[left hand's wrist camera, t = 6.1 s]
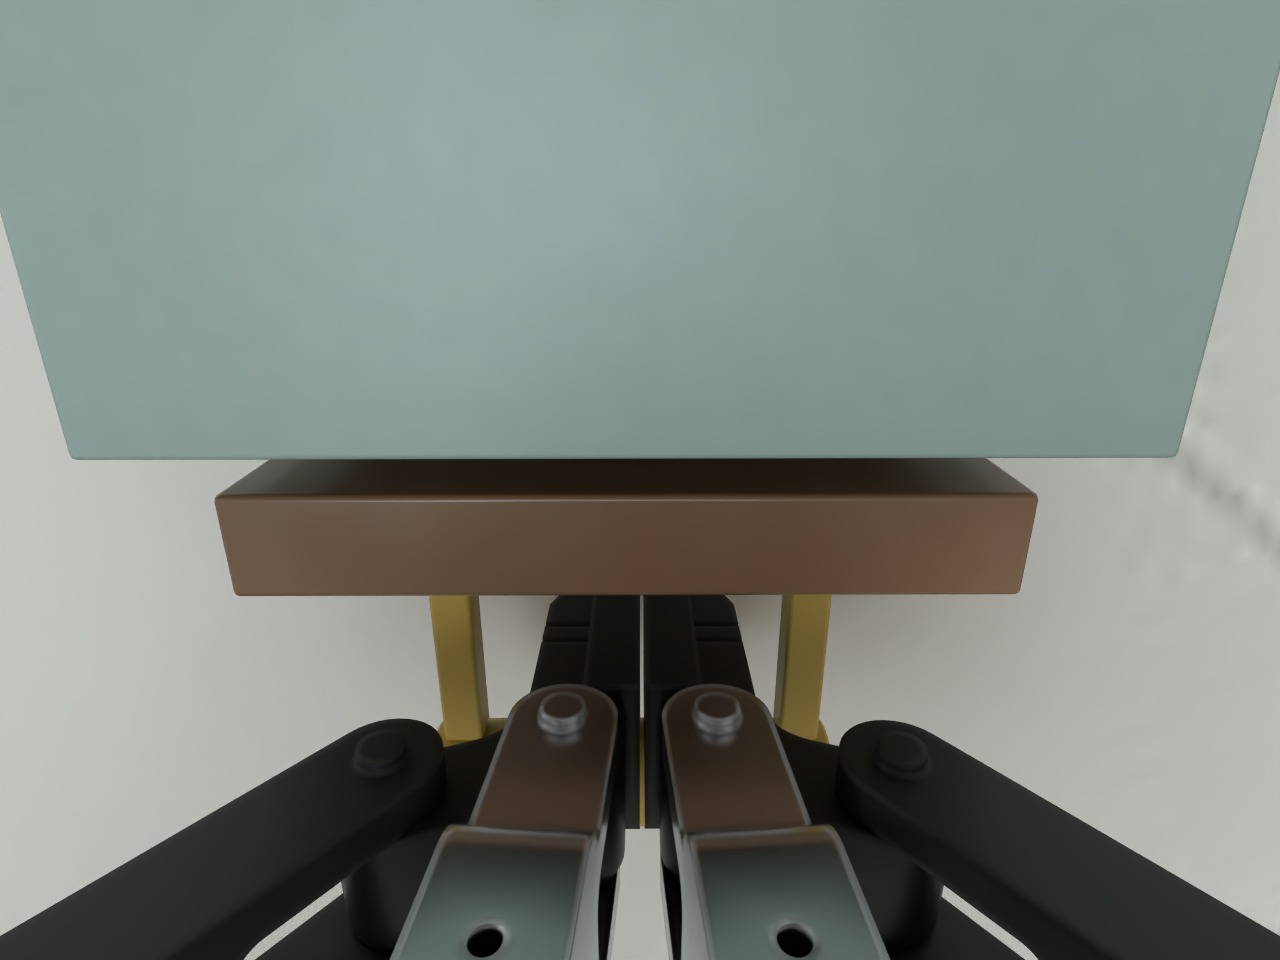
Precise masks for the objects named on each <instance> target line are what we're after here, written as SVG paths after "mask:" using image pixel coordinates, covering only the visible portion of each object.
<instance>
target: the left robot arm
mask: <svg viewBox="0 0 1280 960" xmlns="http://www.w3.org/2000/svg"><path fill="white" fill-rule="evenodd" d="M644 794H645V828H660V886H661V895H662V904H663V912H664V921H665V929H666V938H667V946H668V955H669V960H1025V959H1023V958H1022V957H1021V956H1019V955H1018V954H1017V953H1015V952H1014V951H1013V950H1011V949H1010V948H1009V947H1007V946H1006V945H1005V944H1003V943H1002V942H1001V941H1000V940H998V939H997V938H996V937H994V936H993V935H992V934H990V933H989V932H988V931H986V930H985V929H984V928H982V927H981V926H980V925H978V924H977V923H976V922H974V921H973V920H972V919H970V918H969V917H968V916H966V915H965V914H964V913H962V912H961V911H960V910H958V909H957V908H956V907H954V906H953V905H952V904H950V903H949V902H948V901H947V900H945V899H944V898H943V897H942V891H943V886H944V885H945V886H946V887H947V888H949V889H950V890H951V891H953V892H954V893H955V894H957V895H958V896H960V897H961V898H962V899H964V900H965V901H966V902H968V903H969V904H970V905H972V906H973V907H974V908H976V909H977V910H978V911H980V912H981V913H982V914H984V915H985V916H987V917H988V918H989V919H991V920H992V921H993V922H995V923H996V924H997V925H999V926H1000V927H1001V928H1003V929H1004V930H1005V931H1007V932H1008V933H1010V934H1011V935H1012V936H1014V937H1015V938H1016V939H1018V940H1019V941H1020V942H1021V943H1023V944H1024V945H1025V946H1026V947H1027V948H1028V949H1029V950H1030V951H1031V952H1032V953H1033V954H1034V955H1035V956H1036V957H1037V958H1038V960H1280V936H1279V935H1277V934H1275V933H1274V932H1272V931H1270V930H1268V929H1267V928H1265V927H1263V926H1262V925H1260V924H1258V923H1256V922H1255V921H1253V920H1251V919H1250V918H1248V917H1246V916H1244V915H1243V914H1241V913H1239V912H1238V911H1236V910H1234V909H1232V908H1231V907H1229V906H1227V905H1225V904H1224V903H1222V902H1220V901H1219V900H1217V899H1215V898H1213V897H1212V896H1210V895H1208V894H1207V893H1205V892H1203V891H1201V890H1200V889H1198V888H1196V887H1195V886H1193V885H1191V884H1189V883H1188V882H1186V881H1184V880H1183V879H1181V878H1179V877H1177V876H1176V875H1174V874H1172V873H1171V872H1169V871H1167V870H1165V869H1164V868H1162V867H1160V866H1158V865H1157V864H1155V863H1153V862H1152V861H1150V860H1148V859H1146V858H1145V857H1143V856H1141V855H1140V854H1138V853H1136V852H1134V851H1133V850H1131V849H1129V848H1128V847H1126V846H1124V845H1122V844H1121V843H1119V842H1117V841H1116V840H1114V839H1112V838H1110V837H1109V836H1107V835H1105V834H1104V833H1102V832H1100V831H1098V830H1097V829H1095V828H1093V827H1091V826H1090V825H1088V824H1086V823H1085V822H1083V821H1081V820H1079V819H1078V818H1076V817H1074V816H1073V815H1071V814H1069V813H1067V812H1066V811H1064V810H1062V809H1061V808H1059V807H1057V806H1055V805H1054V804H1052V803H1050V802H1049V801H1047V800H1045V799H1043V798H1042V797H1040V796H1038V795H1037V794H1035V793H1033V792H1031V791H1030V790H1028V789H1026V788H1024V787H1023V786H1021V785H1019V784H1018V783H1016V782H1014V781H1012V780H1011V779H1009V778H1007V777H1006V776H1004V775H1002V774H1000V773H999V772H997V771H995V770H994V769H992V768H990V767H988V766H987V765H985V764H983V763H982V762H980V761H978V760H976V759H975V758H973V757H971V756H970V755H968V754H966V753H964V752H963V751H961V750H959V749H957V748H956V747H954V746H952V745H951V744H949V743H947V742H945V741H944V740H942V739H940V738H939V737H937V736H935V735H933V734H932V733H930V732H928V731H926V730H924V729H921V728H919V727H916V726H913V725H910V724H906V723H902V722H897V721H888V720H875V721H868V722H864V723H861V724H858V725H856V726H854V727H852V728H850V729H849V730H848V731H847V732H846V733H845V734H844V735H843V737H842V739H841V741H840V745H839V746H835V745H831V744H827V743H822V742H818V741H814V740H810V739H806V738H802V737H799V736H797V735H794V734H792V733H790V732H788V731H786V730H784V729H782V728H780V727H779V726H777V725H776V724H774V721H773V719H772V716H771V714H770V712H769V710H768V708H767V707H766V706H765V704H764V703H763V702H762V701H761V700H760V699H758V698H757V697H756V696H755V693H754V689H753V684H752V680H751V676H750V672H749V667H748V663H747V659H746V655H745V650H744V646H743V642H742V640H741V633H740V629H739V626H738V621H737V616H736V612H735V608H734V604H733V603H732V602H731V601H730V600H729V599H728V598H727V597H726V596H725V595H644ZM625 829H640V595H559V596H558V597H557V598H556V599H555V600H554V601H553V602H552V603H551V604H550V608H549V612H548V616H547V621H546V626H545V630H544V634H543V642H542V643H541V647H540V652H539V656H538V661H537V665H536V670H535V674H534V678H533V683H532V687H531V692H530V693H529V694H527V695H526V696H524V697H523V698H522V699H520V700H519V701H518V702H517V703H516V704H515V706H514V707H513V708H512V710H511V712H510V714H509V716H508V719H507V721H506V724H505V727H504V729H502V730H500V731H498V732H496V733H494V734H491V735H489V736H486V737H484V738H480V739H477V740H473V741H468V742H464V743H460V744H455V745H451V746H447V747H444V746H443V741H442V738H441V736H440V734H439V733H438V732H437V730H435V729H434V728H433V727H432V726H430V725H428V724H426V723H424V722H421V721H417V720H412V719H388V720H383V721H378V722H374V723H371V724H368V725H365V726H363V727H360V728H358V729H356V730H354V731H352V732H350V733H348V734H347V735H345V736H343V737H341V738H340V739H338V740H336V741H335V742H333V743H331V744H329V745H328V746H326V747H324V748H323V749H321V750H319V751H317V752H316V753H314V754H312V755H311V756H309V757H307V758H305V759H304V760H302V761H300V762H298V763H297V764H295V765H293V766H292V767H290V768H288V769H286V770H285V771H283V772H281V773H280V774H278V775H276V776H274V777H273V778H271V779H269V780H268V781H266V782H264V783H262V784H261V785H259V786H257V787H256V788H254V789H252V790H250V791H249V792H247V793H245V794H244V795H242V796H240V797H238V798H237V799H235V800H233V801H231V802H230V803H228V804H226V805H225V806H223V807H221V808H219V809H218V810H216V811H214V812H213V813H211V814H209V815H207V816H206V817H204V818H202V819H201V820H199V821H197V822H195V823H194V824H192V825H190V826H189V827H187V828H185V829H183V830H182V831H180V832H178V833H177V834H175V835H173V836H171V837H170V838H168V839H166V840H164V841H163V842H161V843H159V844H158V845H156V846H154V847H152V848H151V849H149V850H147V851H146V852H144V853H142V854H140V855H139V856H137V857H135V858H134V859H132V860H130V861H128V862H127V863H125V864H123V865H122V866H120V867H118V868H116V869H115V870H113V871H111V872H110V873H108V874H106V875H104V876H103V877H101V878H99V879H97V880H96V881H94V882H92V883H91V884H89V885H87V886H85V887H84V888H82V889H80V890H79V891H77V892H75V893H73V894H72V895H70V896H68V897H67V898H65V899H63V900H61V901H60V902H58V903H56V904H55V905H53V906H51V907H49V908H48V909H46V910H44V911H43V912H41V913H39V914H37V915H36V916H34V917H32V918H30V919H29V920H27V921H25V922H24V923H22V924H20V925H18V926H17V927H15V928H13V929H12V930H10V931H8V932H6V933H5V934H3V935H1V936H0V960H244V958H245V957H246V956H247V954H248V953H249V952H250V951H251V950H252V949H253V948H254V947H255V946H256V945H257V944H258V943H259V942H260V941H261V940H263V939H264V938H265V937H266V936H268V935H269V934H270V933H272V932H273V931H275V930H276V929H277V928H279V927H280V926H281V925H283V924H284V923H285V922H287V921H288V920H289V919H291V918H292V917H293V916H295V915H296V914H298V913H299V912H300V911H302V910H303V909H304V908H306V907H307V906H308V905H310V904H311V903H312V902H314V901H315V900H316V899H318V898H319V897H321V896H322V895H323V894H325V893H326V892H327V891H329V890H330V889H331V888H333V887H334V886H335V885H337V884H338V883H339V882H341V884H342V889H343V894H341V895H340V896H339V897H337V898H336V899H335V900H334V901H332V902H331V903H330V904H328V905H327V906H326V907H324V908H323V909H322V910H320V911H319V912H318V913H316V914H315V915H314V916H312V917H311V918H310V919H308V920H307V921H306V922H304V923H303V924H302V925H300V926H299V927H298V928H296V929H295V930H294V931H292V932H291V933H290V934H288V935H287V936H286V937H284V938H283V939H282V940H280V941H279V942H278V943H277V944H275V945H274V946H273V947H271V948H270V949H269V950H267V951H266V952H265V953H263V954H262V955H261V956H259V957H258V958H257V959H255V960H611V955H612V946H613V938H614V929H615V921H616V912H617V903H618V895H619V886H620V865H621V863H622V860H623V858H624V851H625Z"/></svg>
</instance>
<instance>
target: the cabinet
mask: <svg viewBox="0 0 1280 960" xmlns="http://www.w3.org/2000/svg"><path fill="white" fill-rule="evenodd" d="M1279 71H1280V0H0V213H1V216H2V220H3V223H4V227H5V230H6V234H7V237H8V241H9V244H10V248H11V251H12V255H13V258H14V262H15V265H16V269H17V272H18V276H19V279H20V283H21V286H22V290H23V293H24V297H25V300H26V304H27V307H28V311H29V314H30V318H31V321H32V325H33V328H34V332H35V335H36V339H37V342H38V346H39V349H40V353H41V356H42V360H43V363H44V367H45V370H46V374H47V377H48V381H49V384H50V388H51V391H52V395H53V398H54V402H55V405H56V409H57V412H58V416H59V419H60V423H61V426H62V430H63V433H64V437H65V440H66V444H67V447H68V451H69V454H70V456H71V457H72V458H73V459H76V460H235V459H706V458H1168V457H1174V456H1176V454H1177V453H1178V449H1179V446H1180V442H1181V438H1182V434H1183V431H1184V427H1185V423H1186V419H1187V416H1188V412H1189V408H1190V404H1191V401H1192V397H1193V393H1194V389H1195V386H1196V382H1197V378H1198V374H1199V371H1200V367H1201V363H1202V359H1203V356H1204V352H1205V348H1206V344H1207V341H1208V337H1209V333H1210V329H1211V326H1212V322H1213V318H1214V314H1215V311H1216V307H1217V303H1218V299H1219V296H1220V292H1221V288H1222V284H1223V281H1224V277H1225V273H1226V269H1227V266H1228V262H1229V258H1230V254H1231V251H1232V247H1233V243H1234V239H1235V236H1236V232H1237V228H1238V224H1239V221H1240V217H1241V213H1242V209H1243V206H1244V202H1245V198H1246V194H1247V191H1248V187H1249V183H1250V179H1251V176H1252V172H1253V168H1254V164H1255V161H1256V157H1257V153H1258V149H1259V146H1260V142H1261V138H1262V134H1263V131H1264V127H1265V123H1266V119H1267V116H1268V112H1269V108H1270V104H1271V101H1272V97H1273V93H1274V89H1275V86H1276V82H1277V78H1278V74H1279Z"/></svg>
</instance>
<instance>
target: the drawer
mask: <svg viewBox="0 0 1280 960" xmlns="http://www.w3.org/2000/svg"><path fill="white" fill-rule="evenodd" d="M1037 503H1038V497H1037V494H1036V493H1034V492H1033V491H1031V490H1030V489H1029V488H1027V487H1026V486H1024V485H1023V484H1022V483H1020V482H1019V481H1017V480H1016V479H1015V478H1013V477H1012V476H1010V475H1009V474H1008V473H1006V472H1005V471H1004V470H1002V469H1001V468H999V467H998V466H997V465H995V464H994V463H992V462H991V461H990V460H988V459H987V458H706V459H270V460H268V461H267V462H265V463H264V464H262V465H261V466H259V467H258V468H256V469H255V470H254V471H252V472H251V473H249V474H248V475H246V476H245V477H243V478H242V479H240V480H239V481H237V482H236V483H235V484H233V485H232V486H230V487H229V488H227V489H226V490H224V491H223V492H221V493H220V494H218V495H217V496H216V498H215V506H216V511H217V515H218V520H219V525H220V529H221V534H222V538H223V543H224V547H225V552H226V557H227V561H228V566H229V570H230V575H231V579H232V584H233V588H234V592H235V594H236V595H238V596H427V595H429V599H430V608H431V617H432V625H433V634H434V643H435V652H436V660H437V669H438V678H439V686H440V695H441V704H442V713H443V722H442V723H441V725H440V727H439V729H438V731H437V732H438V733H439V734H440V736H441V738H442V741H443V746H444V747H447V746H451V745H455V744H460V743H464V742H468V741H473V740H477V739H480V738H484V737H486V736H489V735H491V734H494V733H496V732H498V731H500V730H502V729H504V727H505V724H506V721H507V719H508V718H489V709H488V698H487V687H486V675H485V664H484V653H483V641H482V630H481V619H480V607H479V596H478V595H783V596H782V609H781V622H780V636H779V649H778V662H777V676H776V689H775V702H774V717H772V719H773V721H774V724H776V725H777V726H779V727H780V728H782V729H784V730H786V731H788V732H790V733H792V734H794V735H797V736H799V737H802V738H806V739H810V740H814V741H818V742H822V743H827V744H829V741H828V738H827V734H826V731H825V729H824V726H823V724H822V722H821V721H820V720H819V713H820V703H821V693H822V683H823V673H824V663H825V653H826V643H827V633H828V624H829V614H830V604H831V595H833V594H1016V593H1018V592H1019V591H1020V587H1021V582H1022V577H1023V572H1024V567H1025V562H1026V557H1027V552H1028V548H1029V543H1030V538H1031V533H1032V528H1033V523H1034V518H1035V513H1036V508H1037ZM640 826H645V794H644V718H640Z"/></svg>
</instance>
